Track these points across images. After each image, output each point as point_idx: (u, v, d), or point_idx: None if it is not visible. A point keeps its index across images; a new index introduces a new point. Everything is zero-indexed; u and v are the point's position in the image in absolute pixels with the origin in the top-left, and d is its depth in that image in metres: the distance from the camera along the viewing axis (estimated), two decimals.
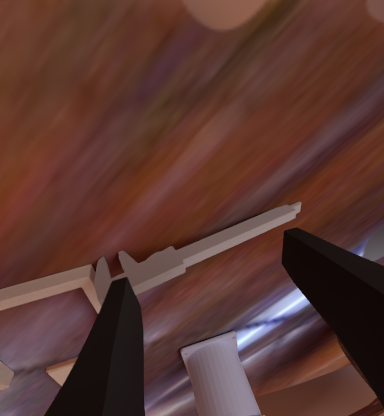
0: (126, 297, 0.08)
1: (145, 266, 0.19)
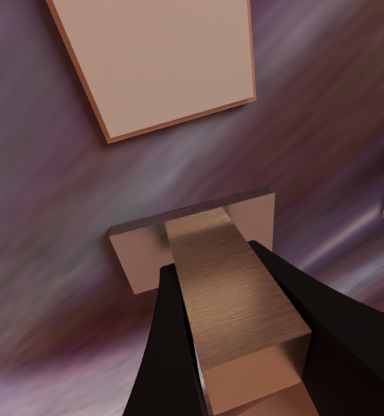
0: None
1: None
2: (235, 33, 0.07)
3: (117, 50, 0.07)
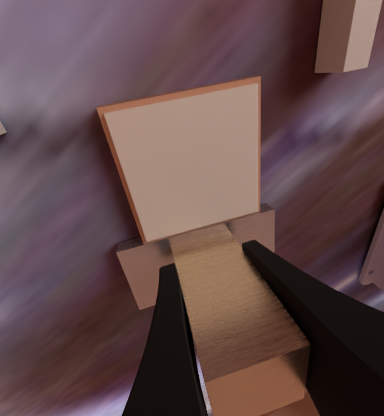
0: (179, 281, 0.08)
1: None
2: (248, 175, 0.10)
3: (161, 189, 0.09)
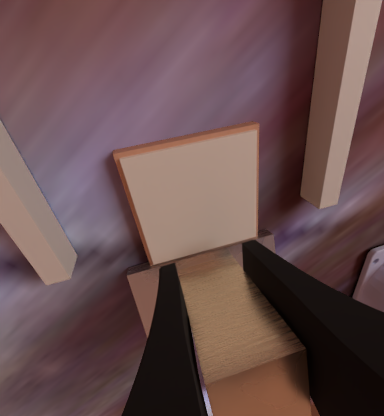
0: (179, 281, 0.08)
1: None
2: (247, 206, 0.11)
3: (167, 220, 0.10)
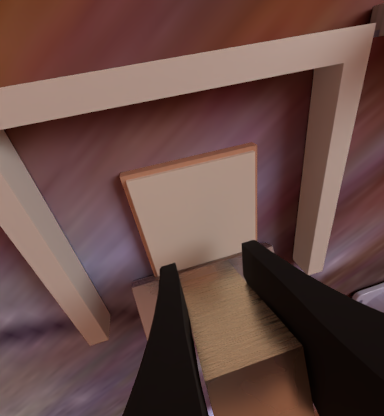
0: (179, 281, 0.08)
1: None
2: (246, 220, 0.12)
3: (171, 235, 0.11)
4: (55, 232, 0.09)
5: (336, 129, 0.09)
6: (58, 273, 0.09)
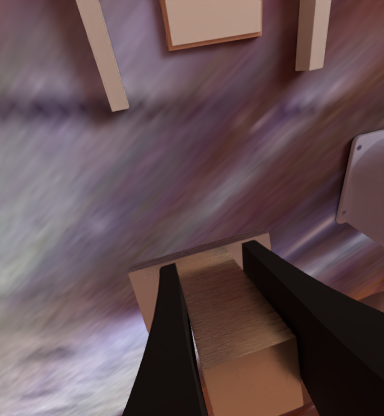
0: (179, 281, 0.08)
1: None
2: None
3: None
4: None
5: None
6: None
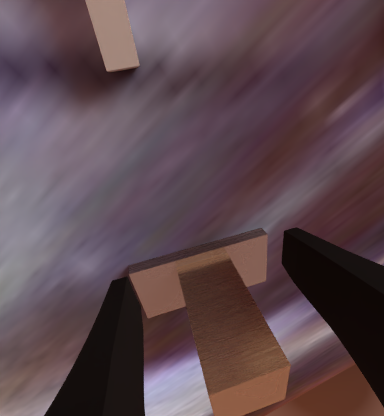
0: (126, 297, 0.08)
1: None
2: None
3: None
4: None
5: None
6: None
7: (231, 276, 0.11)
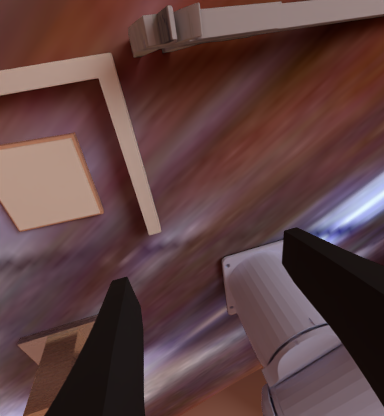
0: (126, 297, 0.08)
1: None
2: (83, 190, 0.16)
3: (21, 197, 0.15)
4: None
5: (115, 121, 0.13)
6: None
7: (70, 347, 0.21)
